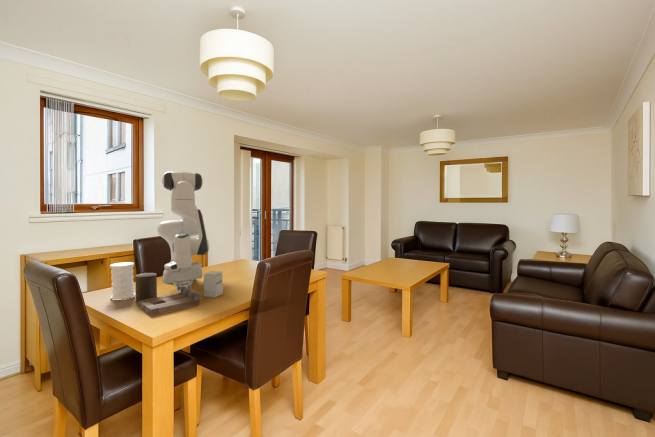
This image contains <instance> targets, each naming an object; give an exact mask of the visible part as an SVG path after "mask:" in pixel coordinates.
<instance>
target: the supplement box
mask: <svg viewBox="0 0 655 437" xmlns="http://www.w3.org/2000/svg"><path fill="white" fill-rule="evenodd" d="M223 284H224V283H223V271H219V270H218V271H217V270H211V271H208V272H205V273H204V274H203V297H205V298H218V297H219V296H221V295H223V294H224V293H223V290H224V289H223Z"/></svg>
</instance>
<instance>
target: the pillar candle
mask: <svg viewBox="0 0 655 437" xmlns="http://www.w3.org/2000/svg"><path fill="white" fill-rule="evenodd" d="M134 277H135V293H136V297H135V302H136V303H137V304H139V301H141V300H146V299H151V298H156V297H158V291H157V290H158V284H157V283H158V278H157V273H156V272H147V271H146V272H144V273H139V274H138V273H137V274H136V275H135V276H134Z"/></svg>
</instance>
